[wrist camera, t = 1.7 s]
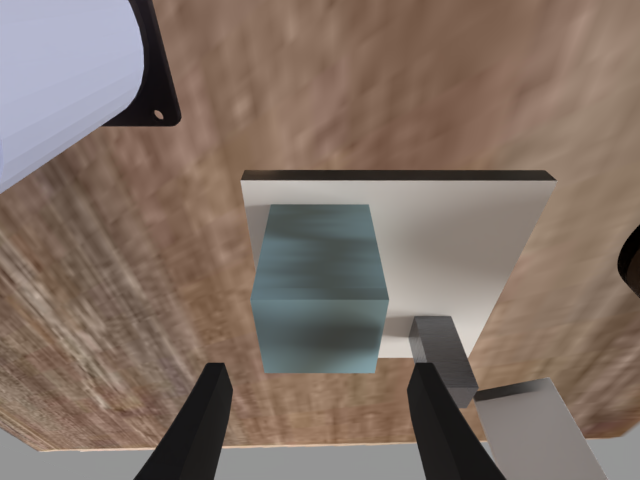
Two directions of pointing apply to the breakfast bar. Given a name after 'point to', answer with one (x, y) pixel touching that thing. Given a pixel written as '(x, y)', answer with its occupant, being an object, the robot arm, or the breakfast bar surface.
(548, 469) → the milk carton
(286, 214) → the teal brushed cube
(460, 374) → the metal post
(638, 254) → the olive oil
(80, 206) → the breakfast bar surface
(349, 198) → the base board
